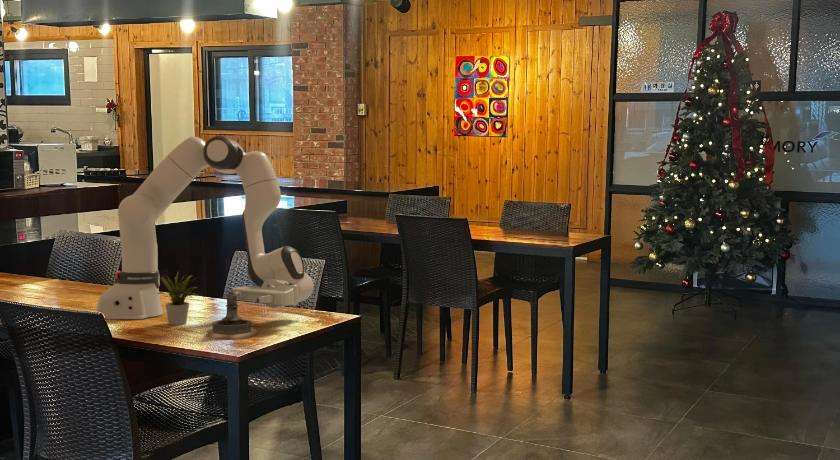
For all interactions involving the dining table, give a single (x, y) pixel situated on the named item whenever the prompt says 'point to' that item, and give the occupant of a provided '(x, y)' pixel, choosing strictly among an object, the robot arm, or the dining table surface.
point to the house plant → (177, 300)
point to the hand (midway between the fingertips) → (245, 298)
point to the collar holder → (231, 330)
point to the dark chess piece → (232, 310)
